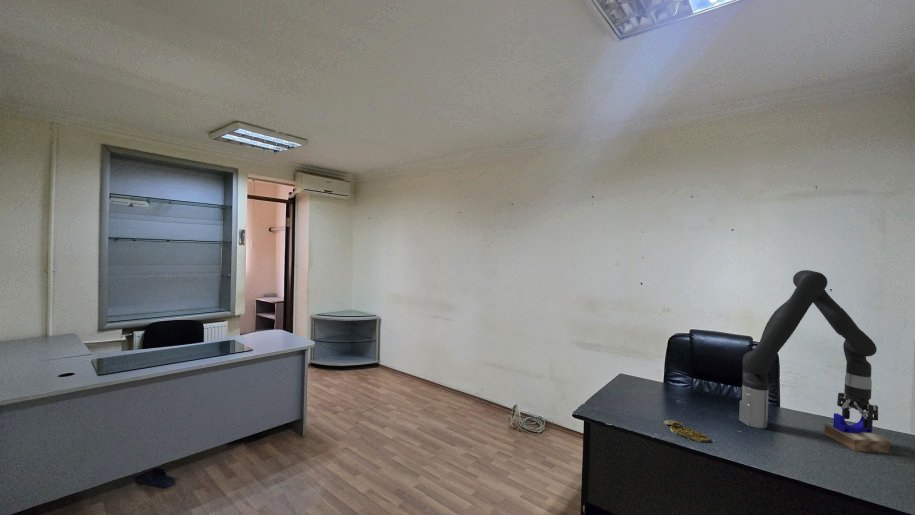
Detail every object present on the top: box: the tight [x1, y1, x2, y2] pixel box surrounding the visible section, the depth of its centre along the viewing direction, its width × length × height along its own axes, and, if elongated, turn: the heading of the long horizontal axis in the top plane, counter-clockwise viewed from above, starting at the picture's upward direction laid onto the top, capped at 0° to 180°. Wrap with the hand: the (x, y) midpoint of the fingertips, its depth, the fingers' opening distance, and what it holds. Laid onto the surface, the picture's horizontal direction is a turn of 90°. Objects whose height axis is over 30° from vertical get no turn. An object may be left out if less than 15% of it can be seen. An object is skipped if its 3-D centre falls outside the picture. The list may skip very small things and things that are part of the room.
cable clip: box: [832, 412, 874, 433], centre depth 151 cm, size 12×4×6 cm, turn 83°
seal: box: [669, 421, 712, 443], centre depth 154 cm, size 9×5×15 cm
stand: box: [824, 422, 891, 454], centre depth 150 cm, size 13×13×5 cm
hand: (856, 423), depth 150 cm, fingers open, 8 cm apart
